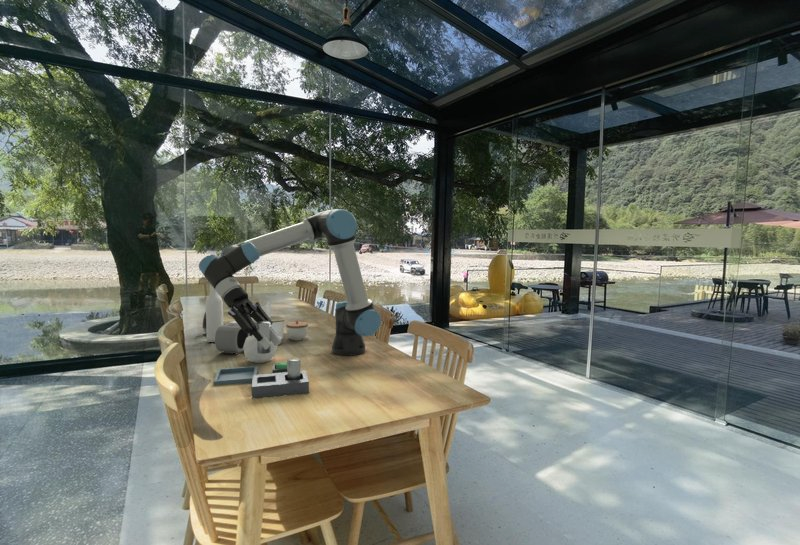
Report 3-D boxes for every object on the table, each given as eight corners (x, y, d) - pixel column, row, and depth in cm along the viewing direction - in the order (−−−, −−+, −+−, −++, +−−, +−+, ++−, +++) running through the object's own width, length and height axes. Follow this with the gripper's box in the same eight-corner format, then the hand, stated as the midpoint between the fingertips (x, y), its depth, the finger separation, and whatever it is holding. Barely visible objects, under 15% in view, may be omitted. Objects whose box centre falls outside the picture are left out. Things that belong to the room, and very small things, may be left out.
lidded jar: (305, 341, 208) (305, 323, 207) (283, 341, 208) (283, 322, 207) (310, 336, 218) (310, 318, 217) (289, 336, 218) (289, 318, 218)
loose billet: (271, 349, 144) (270, 320, 143) (270, 353, 140) (270, 323, 139) (257, 350, 143) (256, 321, 142) (256, 354, 139) (256, 324, 138)
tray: (257, 371, 162) (257, 365, 162) (256, 383, 149) (256, 377, 148) (218, 374, 158) (218, 368, 158) (213, 387, 145) (213, 381, 144)
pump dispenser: (198, 335, 218) (197, 306, 217) (210, 330, 228) (209, 303, 227) (216, 336, 216) (215, 307, 215) (227, 331, 227) (226, 303, 225)
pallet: (305, 381, 152) (305, 370, 151) (308, 393, 140) (308, 381, 140) (253, 386, 146) (253, 374, 146) (252, 399, 135) (251, 386, 135)
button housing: (291, 373, 160) (291, 362, 160) (292, 379, 154) (292, 368, 153) (272, 374, 158) (272, 364, 158) (272, 380, 152) (272, 370, 151)
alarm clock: (235, 357, 181) (234, 326, 180) (215, 355, 182) (214, 325, 181) (259, 344, 201) (259, 317, 200) (241, 343, 203) (240, 316, 201)
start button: (288, 369, 159) (288, 361, 158) (288, 373, 155) (288, 365, 154) (276, 370, 157) (275, 362, 157) (276, 374, 153) (276, 366, 153)
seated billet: (300, 385, 148) (299, 357, 147) (301, 390, 143) (300, 361, 142) (287, 386, 146) (286, 358, 145) (287, 391, 142) (287, 362, 141)
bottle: (205, 343, 202) (203, 281, 200) (207, 339, 210) (206, 279, 207) (223, 342, 204) (221, 281, 202) (225, 338, 212) (223, 279, 209)
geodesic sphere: (240, 356, 161) (261, 326, 166) (229, 349, 172) (248, 320, 176) (269, 373, 169) (288, 343, 174) (257, 364, 180) (275, 336, 184)
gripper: (219, 288, 135) (262, 344, 130) (255, 283, 151) (295, 332, 147) (207, 304, 137) (249, 359, 133) (243, 296, 153) (282, 345, 149)
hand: (273, 345), depth 140 cm, fingers closed on loose billet, 4 cm apart
